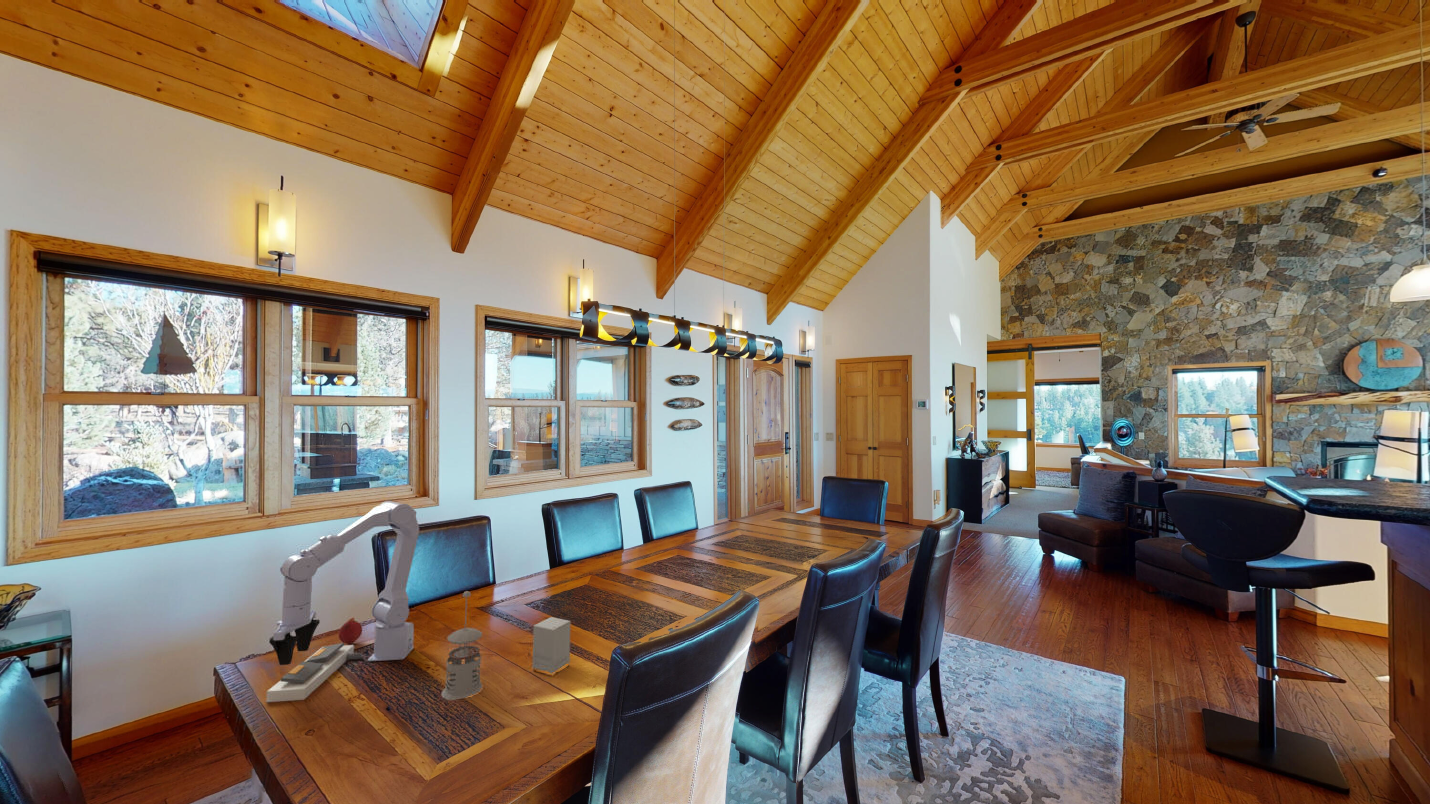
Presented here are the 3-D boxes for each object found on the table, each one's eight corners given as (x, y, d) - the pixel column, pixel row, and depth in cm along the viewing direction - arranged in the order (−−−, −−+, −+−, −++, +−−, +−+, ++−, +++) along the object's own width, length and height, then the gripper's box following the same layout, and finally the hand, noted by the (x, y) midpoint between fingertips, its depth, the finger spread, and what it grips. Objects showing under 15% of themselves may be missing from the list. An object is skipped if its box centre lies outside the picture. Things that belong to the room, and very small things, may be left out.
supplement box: (570, 665, 148) (571, 620, 149) (551, 677, 141) (553, 629, 142) (550, 660, 151) (551, 615, 152) (531, 670, 144) (532, 624, 145)
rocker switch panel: (366, 653, 152) (367, 644, 153) (320, 698, 128) (320, 687, 128) (322, 655, 150) (322, 646, 150) (266, 702, 126) (266, 691, 126)
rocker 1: (322, 666, 138) (323, 662, 138) (303, 683, 129) (304, 679, 130) (301, 664, 137) (302, 660, 137) (280, 681, 129) (281, 677, 129)
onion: (349, 649, 154) (350, 622, 155) (333, 647, 156) (334, 620, 156) (366, 641, 160) (367, 615, 160) (350, 639, 161) (351, 613, 162)
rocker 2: (344, 645, 149) (343, 641, 149) (327, 659, 140) (326, 656, 140) (324, 649, 148) (324, 646, 148) (306, 664, 139) (305, 660, 139)
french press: (440, 703, 127) (445, 600, 128) (441, 682, 137) (445, 586, 138) (485, 695, 131) (489, 594, 132) (481, 674, 142) (485, 581, 143)
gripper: (296, 594, 140) (293, 645, 140) (260, 614, 126) (257, 671, 125) (325, 593, 141) (323, 644, 141) (293, 613, 127) (290, 669, 127)
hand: (294, 657), depth 133 cm, fingers open, 7 cm apart
